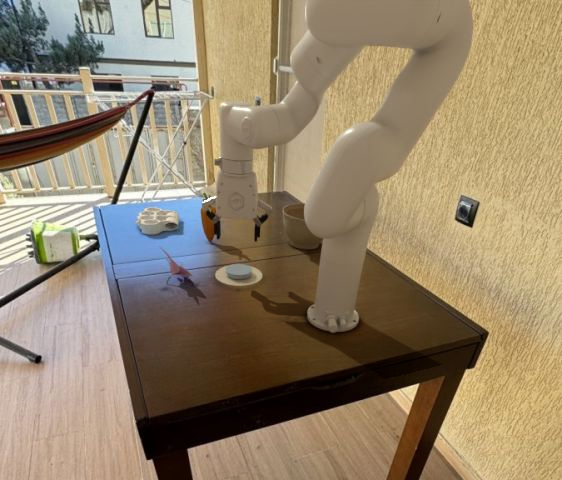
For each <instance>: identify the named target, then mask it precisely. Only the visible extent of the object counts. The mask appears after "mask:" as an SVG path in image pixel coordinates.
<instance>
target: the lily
mask: <svg viewBox="0 0 562 480" xmlns="http://www.w3.org/2000/svg"><path fill="white" fill-rule="evenodd" d="M159 249H160V250H161V251H163V253H164V254H165V255H166V256H167V258H165V260H166V261H167V262H169V270H170V274H169V276H168V278H167V280H166V283H165V285H168V283H169V281H170V279H171V277H172V276H182V277H184V278H186V279H188V280H189V281H190V282H192V283H194V281H193V280H192V279H191V278H190V277H193V275H192V273H191V272H190V271H189V270H187V269H186V268H185V267H184V263H181V261H180V262H179V264H178V263H176V261H175V260H174V259H172V258H171V256H170V254H169V253H168V252H167V251H166V250H164V248H162V247H160V246H159Z"/></svg>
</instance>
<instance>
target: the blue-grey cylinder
mask: <svg viewBox="0 0 562 480" xmlns="http://www.w3.org/2000/svg"><path fill="white" fill-rule="evenodd" d="M226 266H227V267H226V275H227V276H228V277H230V278H234V279H245V278H248V277H250V276H251V275H252V268H251V267H252V266H251V265H248V264H244V263H232V264H229V265H226ZM250 266H251V267H250Z"/></svg>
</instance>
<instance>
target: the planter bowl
mask: <svg viewBox="0 0 562 480" xmlns="http://www.w3.org/2000/svg"><path fill="white" fill-rule="evenodd" d="M304 206H305V202H299V203H297V202H296V203H290V204H287V205H285V206H284V207H282V222H283V228H284V231H285V233H286V235H287V238H288V239H289V241H290V242H289V243H290V245H291V246H292V247H294V248H296V249H298V250H299V249H300V250H306V251H307V250H308V251H309V250H315V249H317V248H319V246H320V243H322V242H323V238H319V237H317V236H315V235H314V234H312V233H311V232H310V230H309V229H308V227H307V225H306V222H305V218H304Z"/></svg>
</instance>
